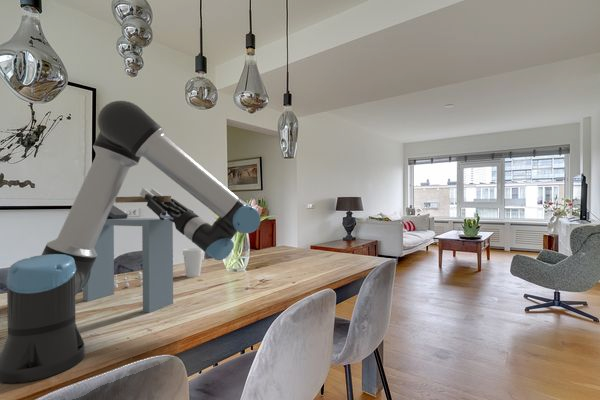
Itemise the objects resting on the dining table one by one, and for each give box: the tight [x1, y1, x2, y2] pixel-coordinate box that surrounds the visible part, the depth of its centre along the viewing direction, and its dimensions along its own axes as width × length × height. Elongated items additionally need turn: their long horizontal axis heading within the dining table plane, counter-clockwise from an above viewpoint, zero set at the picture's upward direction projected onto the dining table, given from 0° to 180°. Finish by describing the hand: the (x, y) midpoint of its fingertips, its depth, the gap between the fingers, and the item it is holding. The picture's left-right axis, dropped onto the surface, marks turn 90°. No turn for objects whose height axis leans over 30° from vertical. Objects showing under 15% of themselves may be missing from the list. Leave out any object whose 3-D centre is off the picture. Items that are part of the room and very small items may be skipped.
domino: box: [109, 204, 129, 219], centre depth 117 cm, size 5×2×10 cm
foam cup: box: [182, 247, 204, 278], centre depth 154 cm, size 10×9×13 cm
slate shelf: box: [82, 217, 174, 313], centre depth 114 cm, size 10×34×30 cm, turn 66°
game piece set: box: [114, 271, 143, 289], centre depth 142 cm, size 19×20×4 cm
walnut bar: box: [114, 195, 172, 204], centre depth 111 cm, size 3×24×2 cm, turn 66°
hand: (146, 191), depth 110 cm, fingers closed on walnut bar, 3 cm apart
